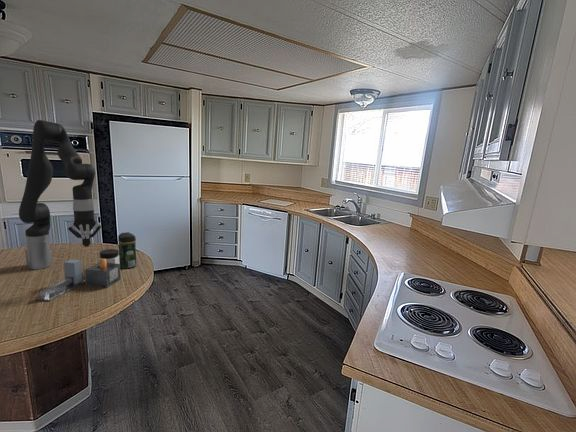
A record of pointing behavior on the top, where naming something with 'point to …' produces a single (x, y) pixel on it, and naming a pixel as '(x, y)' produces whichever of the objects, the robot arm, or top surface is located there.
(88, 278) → the block with square hole
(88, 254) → the top surface
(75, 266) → the block
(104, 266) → the orange peg
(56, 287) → the rail
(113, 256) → the jar
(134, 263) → the coffee jar
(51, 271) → the top surface
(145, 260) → the top surface
